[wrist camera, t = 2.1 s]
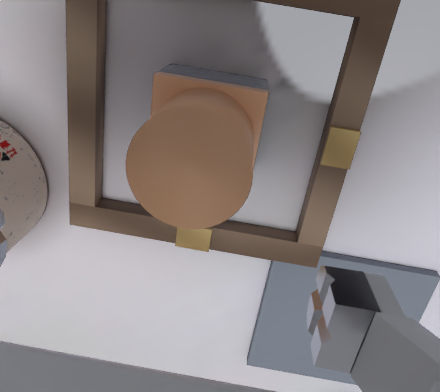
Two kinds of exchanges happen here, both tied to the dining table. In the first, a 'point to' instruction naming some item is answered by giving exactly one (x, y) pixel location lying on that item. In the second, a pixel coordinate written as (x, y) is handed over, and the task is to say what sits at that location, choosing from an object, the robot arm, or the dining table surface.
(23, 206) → the teacup with lid
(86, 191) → the frame
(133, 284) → the dining table surface
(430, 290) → the pad
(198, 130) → the tan domed square base
